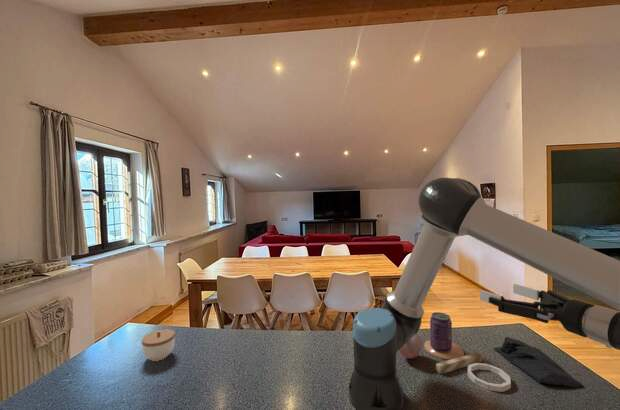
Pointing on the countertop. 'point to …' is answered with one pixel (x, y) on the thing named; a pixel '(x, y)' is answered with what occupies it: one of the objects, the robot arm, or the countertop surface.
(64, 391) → the countertop surface
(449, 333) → the beverage can
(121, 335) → the countertop surface
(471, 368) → the ring
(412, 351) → the decorative fruit
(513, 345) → the dark slate chunk
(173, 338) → the lidded jar
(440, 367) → the wooden bar
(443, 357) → the coaster
